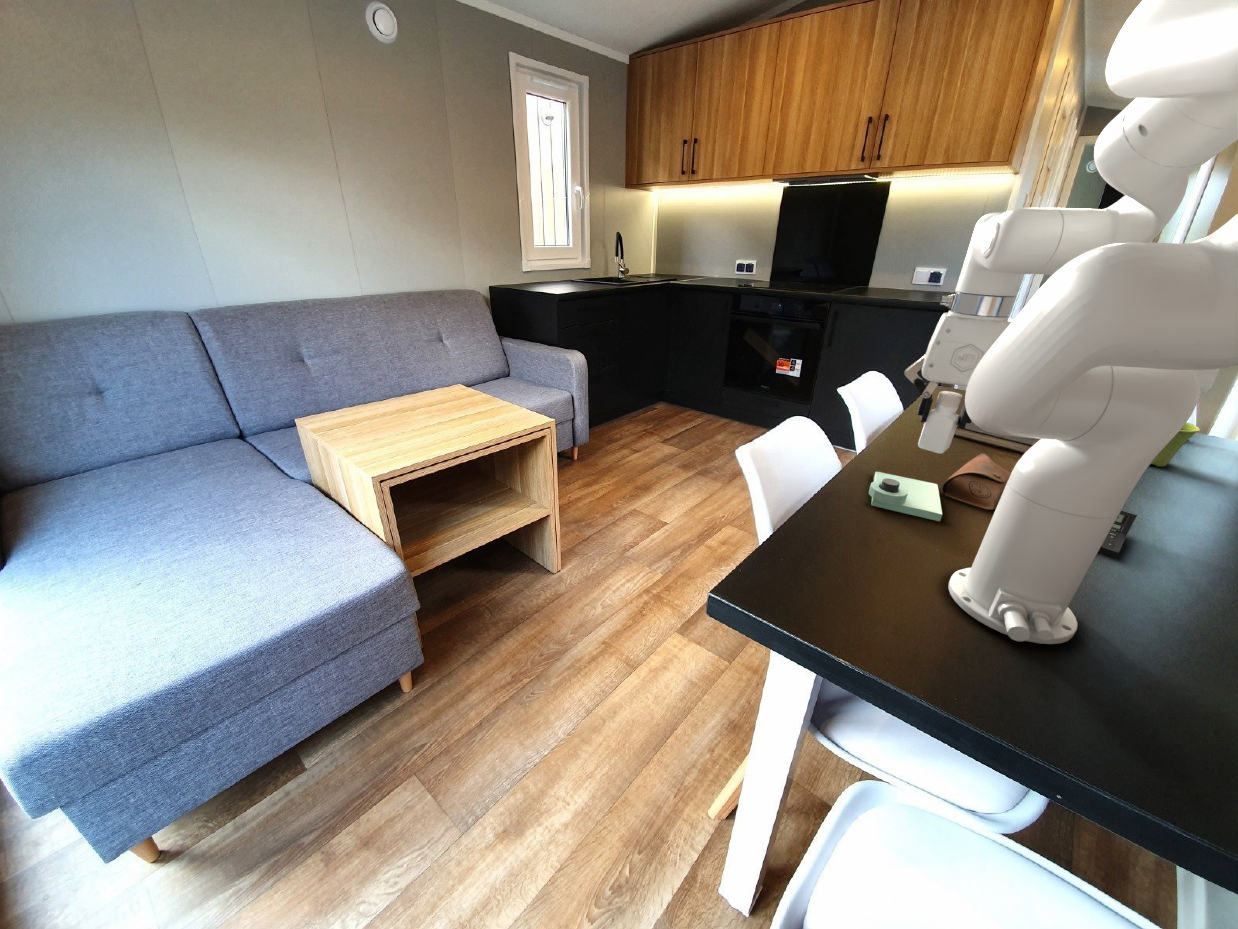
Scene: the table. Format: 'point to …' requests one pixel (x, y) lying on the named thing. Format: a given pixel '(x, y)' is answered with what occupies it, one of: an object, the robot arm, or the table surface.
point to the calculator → (1117, 534)
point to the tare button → (890, 485)
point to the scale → (907, 497)
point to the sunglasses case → (977, 483)
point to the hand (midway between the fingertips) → (941, 422)
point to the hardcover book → (995, 438)
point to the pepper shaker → (941, 423)
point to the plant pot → (1175, 444)
